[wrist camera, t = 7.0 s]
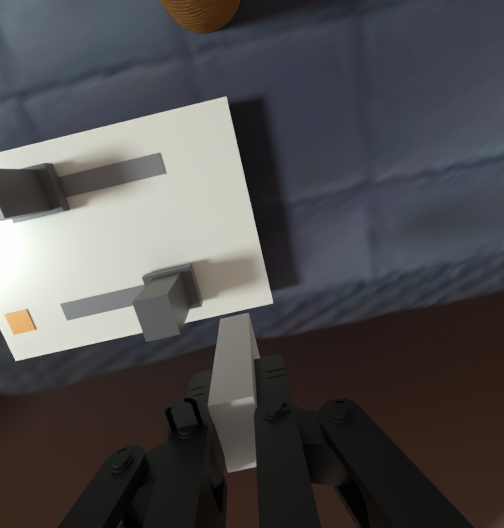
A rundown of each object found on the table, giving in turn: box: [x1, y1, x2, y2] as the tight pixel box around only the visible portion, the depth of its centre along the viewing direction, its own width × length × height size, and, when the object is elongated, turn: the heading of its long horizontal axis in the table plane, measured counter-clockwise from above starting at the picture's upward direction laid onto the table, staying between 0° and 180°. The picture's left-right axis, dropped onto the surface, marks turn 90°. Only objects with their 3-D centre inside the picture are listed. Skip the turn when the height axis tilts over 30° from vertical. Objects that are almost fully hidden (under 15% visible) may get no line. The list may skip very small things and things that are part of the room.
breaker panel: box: [0, 97, 273, 361], centre depth 28 cm, size 24×17×3 cm
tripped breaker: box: [132, 263, 203, 342], centre depth 24 cm, size 4×4×6 cm
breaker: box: [0, 163, 70, 223], centre depth 22 cm, size 4×4×6 cm
